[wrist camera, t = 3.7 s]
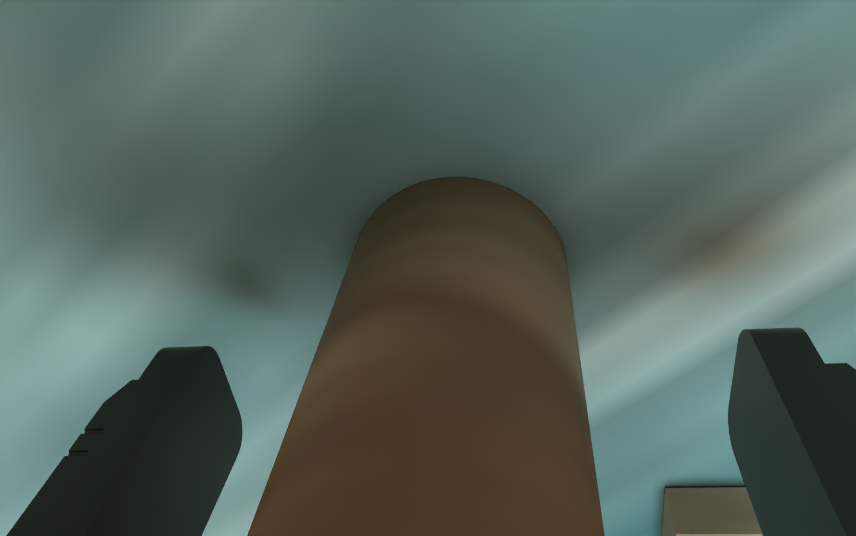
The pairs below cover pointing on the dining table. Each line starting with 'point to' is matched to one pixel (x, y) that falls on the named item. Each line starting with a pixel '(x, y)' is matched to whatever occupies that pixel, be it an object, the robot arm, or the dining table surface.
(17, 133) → the dining table surface
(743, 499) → the board
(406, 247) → the walnut pin
